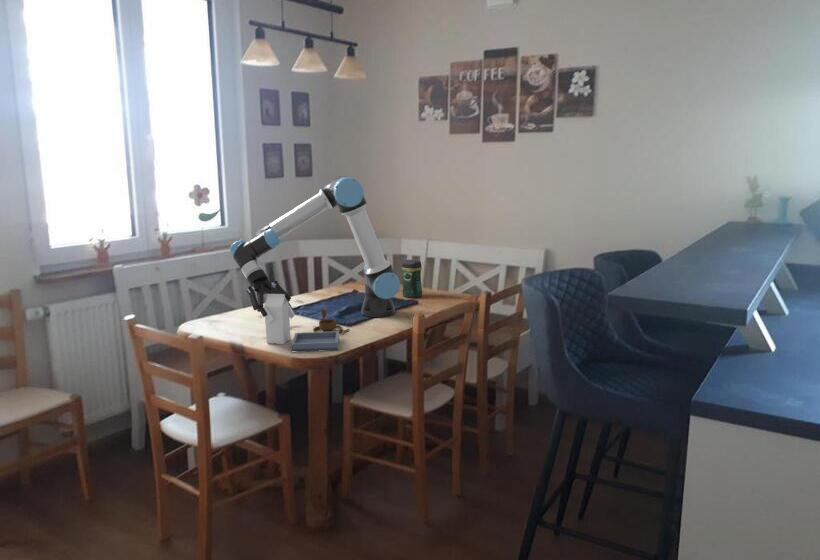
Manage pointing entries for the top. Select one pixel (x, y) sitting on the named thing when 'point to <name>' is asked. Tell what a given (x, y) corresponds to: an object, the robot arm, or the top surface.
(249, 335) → the top surface
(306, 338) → the tray
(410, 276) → the coffee jar
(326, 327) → the brown toy crab
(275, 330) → the milk carton
